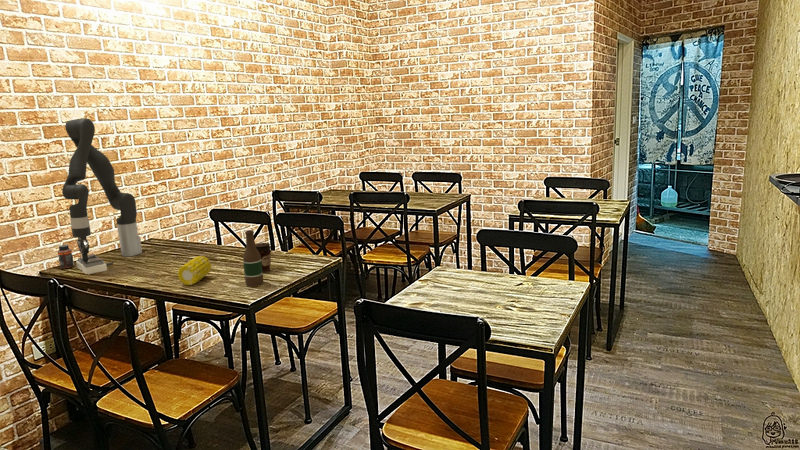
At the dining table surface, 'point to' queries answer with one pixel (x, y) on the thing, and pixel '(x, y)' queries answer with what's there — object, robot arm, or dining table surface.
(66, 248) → the supplement bottle
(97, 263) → the rocker switch panel
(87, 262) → the rocker
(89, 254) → the rocker
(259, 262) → the beer bottle
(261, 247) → the coffee cup
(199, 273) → the food
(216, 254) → the dining table surface
